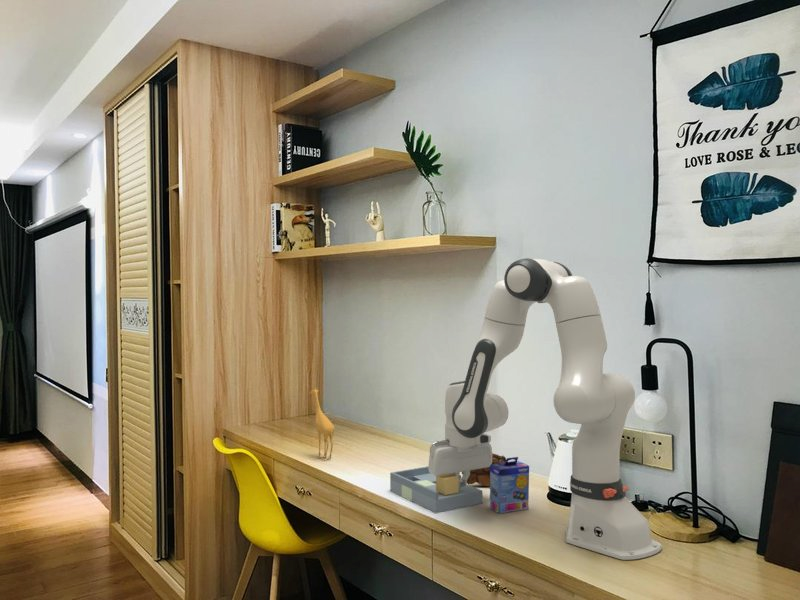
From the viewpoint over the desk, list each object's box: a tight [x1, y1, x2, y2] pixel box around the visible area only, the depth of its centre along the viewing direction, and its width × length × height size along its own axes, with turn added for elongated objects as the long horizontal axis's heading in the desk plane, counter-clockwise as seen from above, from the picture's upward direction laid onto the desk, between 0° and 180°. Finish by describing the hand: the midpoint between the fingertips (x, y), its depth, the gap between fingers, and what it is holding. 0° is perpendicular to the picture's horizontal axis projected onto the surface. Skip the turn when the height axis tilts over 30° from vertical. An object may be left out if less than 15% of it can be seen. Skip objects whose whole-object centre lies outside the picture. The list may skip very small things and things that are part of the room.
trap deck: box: [389, 466, 483, 514], centre depth 193 cm, size 24×16×6 cm, turn 32°
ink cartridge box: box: [489, 456, 530, 514], centre depth 182 cm, size 10×6×14 cm, turn 113°
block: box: [436, 474, 458, 495], centre depth 185 cm, size 4×4×5 cm
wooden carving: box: [461, 452, 507, 487], centre depth 204 cm, size 16×5×10 cm, turn 99°
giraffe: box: [309, 387, 336, 460], centre depth 241 cm, size 16×4×25 cm, turn 35°
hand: (460, 486), depth 188 cm, fingers closed
